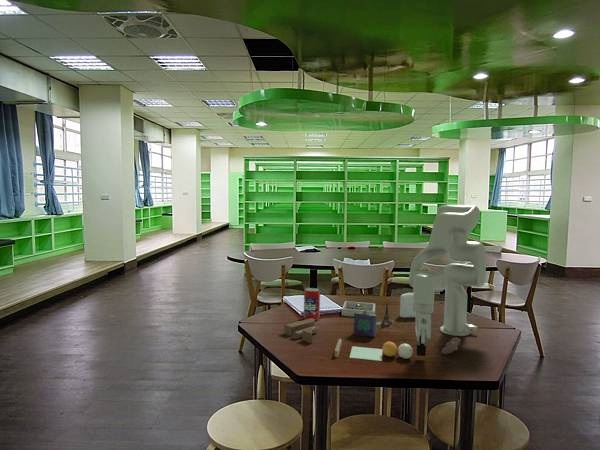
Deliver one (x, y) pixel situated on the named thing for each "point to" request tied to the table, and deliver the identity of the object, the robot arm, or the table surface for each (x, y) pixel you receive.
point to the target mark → (366, 353)
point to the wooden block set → (301, 329)
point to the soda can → (311, 303)
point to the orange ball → (389, 349)
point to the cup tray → (353, 305)
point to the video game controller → (451, 346)
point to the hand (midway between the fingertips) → (421, 354)
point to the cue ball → (405, 351)
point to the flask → (365, 324)
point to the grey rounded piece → (358, 306)
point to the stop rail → (338, 348)
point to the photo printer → (407, 305)
